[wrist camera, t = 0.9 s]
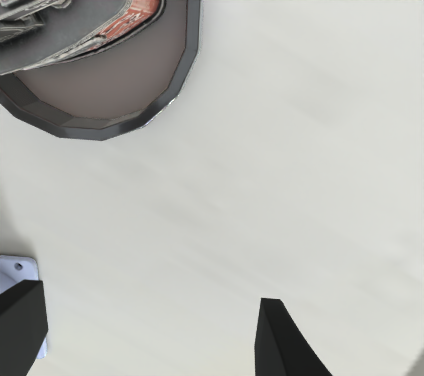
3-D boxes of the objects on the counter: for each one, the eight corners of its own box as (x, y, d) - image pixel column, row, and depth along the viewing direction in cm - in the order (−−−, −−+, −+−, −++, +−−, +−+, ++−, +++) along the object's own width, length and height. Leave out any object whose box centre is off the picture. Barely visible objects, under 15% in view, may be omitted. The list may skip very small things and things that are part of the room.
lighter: (35, 79, 20) (-127, 120, 11) (0, 12, 19) (-211, -4, 10) (177, 21, 19) (129, 12, 10) (149, -54, 18) (66, -145, 9)
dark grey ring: (-8, 121, 21) (-33, 131, 19) (-46, -131, 17) (-83, -153, 15) (196, 136, 21) (193, 147, 19) (209, -115, 17) (207, -134, 15)
